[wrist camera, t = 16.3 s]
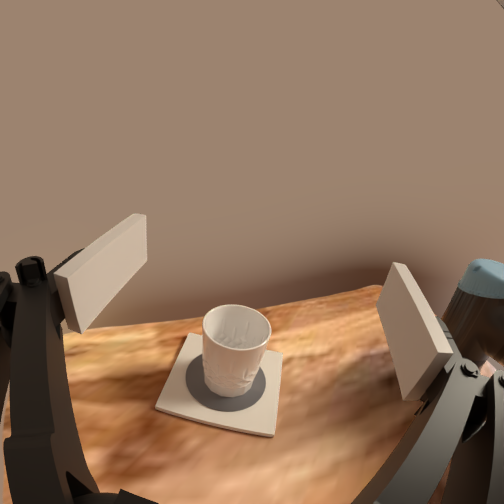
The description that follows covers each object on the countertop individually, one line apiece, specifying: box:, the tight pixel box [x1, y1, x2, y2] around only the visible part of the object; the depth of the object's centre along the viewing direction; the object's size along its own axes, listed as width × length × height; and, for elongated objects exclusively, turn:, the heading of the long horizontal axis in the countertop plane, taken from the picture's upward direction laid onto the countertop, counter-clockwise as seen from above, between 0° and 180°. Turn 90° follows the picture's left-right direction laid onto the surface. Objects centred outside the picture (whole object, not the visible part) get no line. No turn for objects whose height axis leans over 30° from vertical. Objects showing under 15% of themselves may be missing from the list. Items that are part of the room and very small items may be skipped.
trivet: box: [155, 332, 283, 437], centre depth 37 cm, size 15×15×1 cm
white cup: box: [202, 305, 271, 397], centre depth 35 cm, size 8×8×10 cm
